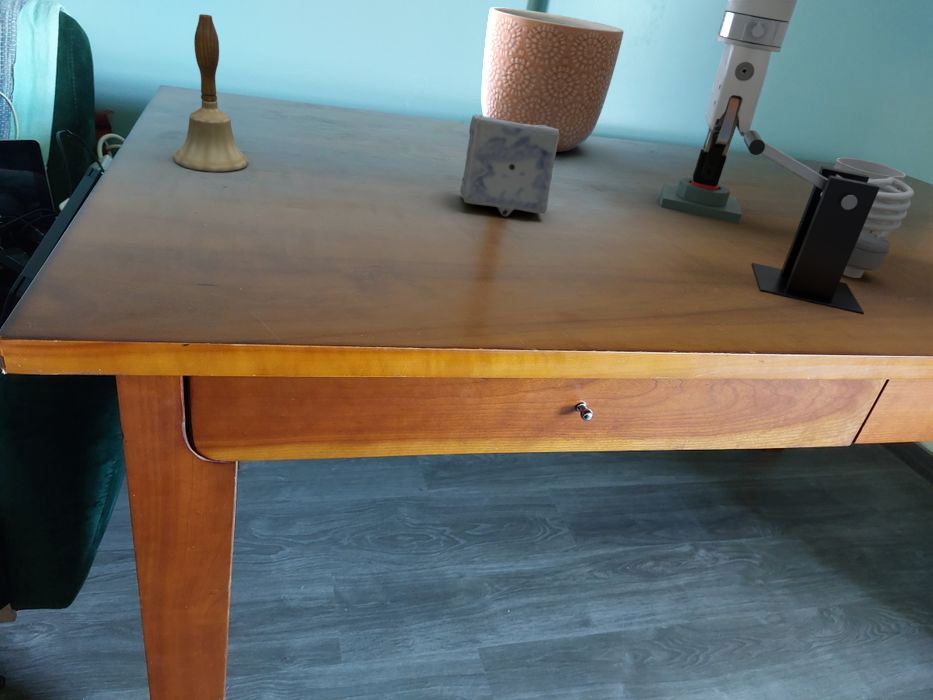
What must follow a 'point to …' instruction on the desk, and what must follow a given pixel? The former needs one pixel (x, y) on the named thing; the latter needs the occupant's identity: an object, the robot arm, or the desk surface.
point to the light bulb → (879, 226)
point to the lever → (783, 159)
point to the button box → (700, 200)
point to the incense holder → (509, 165)
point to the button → (705, 186)
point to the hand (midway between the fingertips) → (704, 182)
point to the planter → (548, 71)
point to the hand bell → (209, 114)
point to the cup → (869, 173)
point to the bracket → (823, 243)
